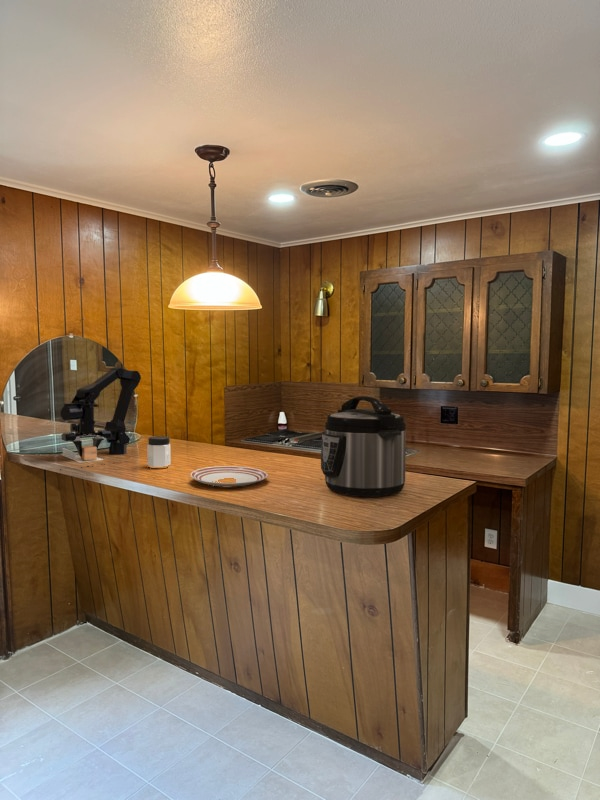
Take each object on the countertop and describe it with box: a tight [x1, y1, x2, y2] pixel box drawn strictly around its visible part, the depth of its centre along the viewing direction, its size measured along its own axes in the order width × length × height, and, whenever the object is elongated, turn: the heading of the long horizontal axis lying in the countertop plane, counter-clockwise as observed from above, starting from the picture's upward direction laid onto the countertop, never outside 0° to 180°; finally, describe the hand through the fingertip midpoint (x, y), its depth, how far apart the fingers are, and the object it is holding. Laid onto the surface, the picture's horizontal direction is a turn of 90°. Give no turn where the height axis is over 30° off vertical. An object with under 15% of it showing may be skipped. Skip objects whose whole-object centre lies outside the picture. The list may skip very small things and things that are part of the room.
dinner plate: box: [189, 465, 269, 487], centre depth 198 cm, size 28×27×3 cm
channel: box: [59, 447, 104, 463], centre depth 235 cm, size 24×10×4 cm, turn 41°
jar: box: [146, 435, 171, 467], centre depth 222 cm, size 9×8×12 cm
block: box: [80, 445, 98, 460], centre depth 228 cm, size 5×5×5 cm
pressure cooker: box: [320, 395, 407, 498], centre depth 187 cm, size 30×28×32 cm
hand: (87, 456), depth 229 cm, fingers closed on block, 5 cm apart
